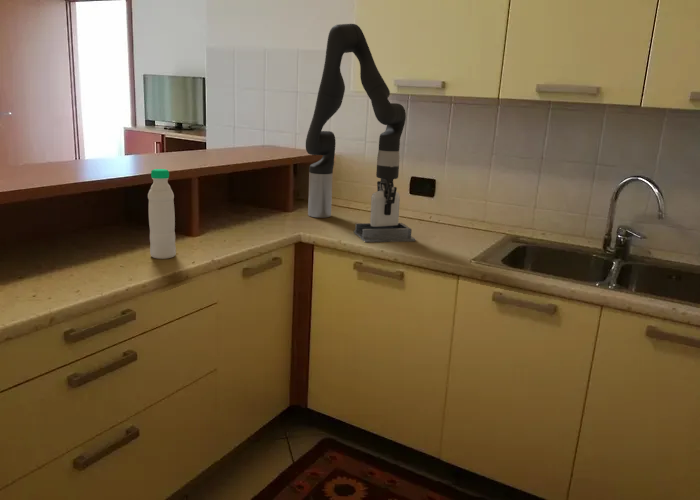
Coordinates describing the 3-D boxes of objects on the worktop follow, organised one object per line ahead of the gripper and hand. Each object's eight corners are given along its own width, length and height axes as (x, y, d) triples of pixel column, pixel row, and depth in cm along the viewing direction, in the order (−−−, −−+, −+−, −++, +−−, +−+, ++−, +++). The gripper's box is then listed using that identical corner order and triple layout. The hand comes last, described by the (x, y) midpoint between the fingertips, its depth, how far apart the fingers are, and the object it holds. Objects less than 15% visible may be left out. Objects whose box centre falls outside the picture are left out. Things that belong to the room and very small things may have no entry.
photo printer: (373, 227, 199) (375, 191, 196) (368, 224, 203) (370, 189, 199) (400, 226, 203) (402, 191, 200) (394, 223, 207) (396, 188, 204)
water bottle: (153, 260, 164) (149, 171, 157) (148, 253, 170) (144, 168, 163) (178, 258, 167) (175, 170, 161) (173, 251, 173) (170, 167, 167)
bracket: (353, 232, 208) (354, 222, 207) (400, 231, 213) (401, 221, 212) (364, 242, 195) (365, 231, 194) (415, 241, 200) (415, 230, 199)
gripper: (371, 161, 203) (368, 209, 207) (384, 166, 190) (381, 217, 194) (391, 161, 205) (388, 209, 209) (405, 166, 192) (402, 217, 196)
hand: (384, 213), depth 202 cm, fingers closed on photo printer, 4 cm apart
